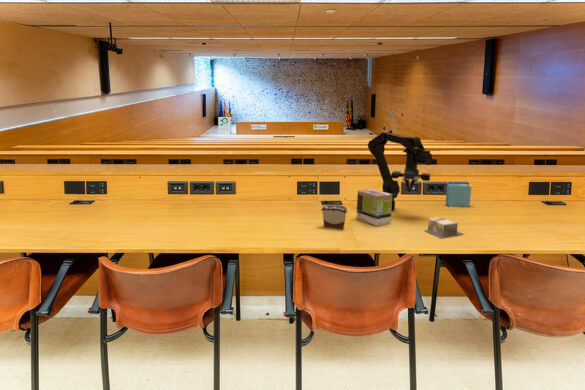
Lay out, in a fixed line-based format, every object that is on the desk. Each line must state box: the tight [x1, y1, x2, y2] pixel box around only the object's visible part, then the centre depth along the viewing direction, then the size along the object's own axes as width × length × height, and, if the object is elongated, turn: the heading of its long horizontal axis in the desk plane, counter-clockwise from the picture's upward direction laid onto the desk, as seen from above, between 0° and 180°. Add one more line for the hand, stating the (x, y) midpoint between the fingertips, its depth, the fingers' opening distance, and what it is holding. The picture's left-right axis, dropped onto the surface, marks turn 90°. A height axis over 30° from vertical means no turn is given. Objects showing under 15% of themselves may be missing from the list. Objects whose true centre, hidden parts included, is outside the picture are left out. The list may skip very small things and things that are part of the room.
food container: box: [321, 204, 348, 230], centre depth 212 cm, size 12×6×10 cm, turn 71°
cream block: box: [427, 216, 459, 236], centre depth 205 cm, size 5×7×11 cm
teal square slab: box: [445, 183, 472, 208], centre depth 249 cm, size 12×4×12 cm, turn 86°
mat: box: [423, 229, 464, 239], centre depth 205 cm, size 11×13×1 cm
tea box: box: [356, 188, 393, 227], centre depth 220 cm, size 15×10×15 cm, turn 31°
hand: (409, 192), depth 229 cm, fingers closed
